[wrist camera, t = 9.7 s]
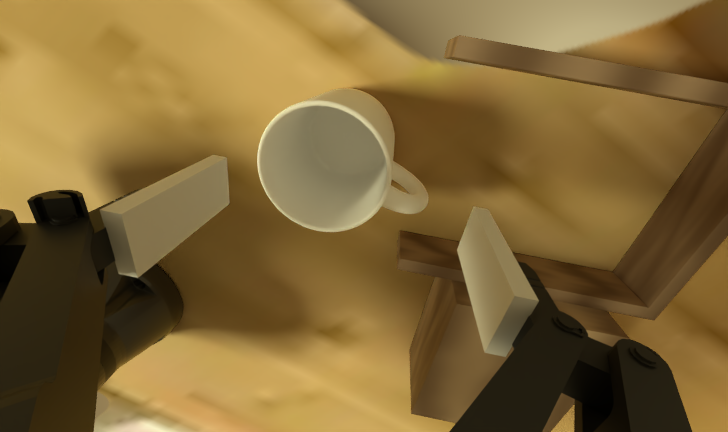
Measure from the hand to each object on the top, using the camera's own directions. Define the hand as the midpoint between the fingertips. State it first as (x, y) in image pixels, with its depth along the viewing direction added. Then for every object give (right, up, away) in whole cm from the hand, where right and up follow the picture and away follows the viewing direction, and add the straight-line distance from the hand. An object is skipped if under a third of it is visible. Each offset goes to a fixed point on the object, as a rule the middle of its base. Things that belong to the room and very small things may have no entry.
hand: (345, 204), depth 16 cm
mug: (+1, +6, +12) cm, 13 cm away
